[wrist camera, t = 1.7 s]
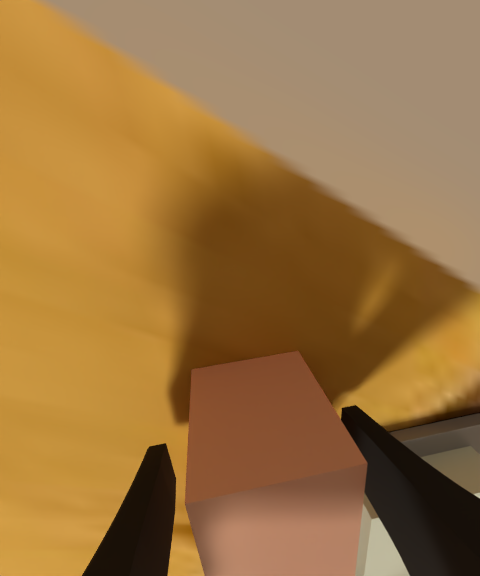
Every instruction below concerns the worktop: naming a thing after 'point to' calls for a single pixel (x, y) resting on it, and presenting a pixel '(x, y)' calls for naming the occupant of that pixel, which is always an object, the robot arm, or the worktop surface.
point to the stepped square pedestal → (442, 456)
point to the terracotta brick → (271, 472)
